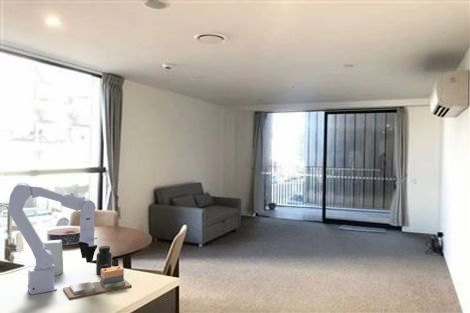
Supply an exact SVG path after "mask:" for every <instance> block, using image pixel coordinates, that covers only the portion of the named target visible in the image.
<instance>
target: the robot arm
mask: <svg viewBox="0 0 470 313" xmlns="http://www.w3.org/2000/svg"><path fill="white" fill-rule="evenodd" d="M30 197H31V199H33V198H38V197H39V198H45V199H49V200H52V201H56V202H59V203H60V204H61V206H62V207H64V208H67V209H70V210H74V211H76V212H77V211H80V217H79V238H78V241H77V242H76V243H77V245H78V247H79V249H80V254H81V258H82V259H85V261H86V263H87V264H89V263H92V262H93V260H94V256H95V253H96V250H97V248H98V245H97V244H95V240H98V237H97V236H95V211H96V208H97V207H96V205H95V202H93V201H92V200H91V199H90V198H86V197H85V196H82V197H81V196H79V195H75V193H74V192H66V193H65V194H62V193H60V192H57V191H53V190H51V189H48V188H45V187H43V186H38V185H34V184H28V183H27V182H20V183H17V184H16V185H15V186H14V188H13V189H12V191H11V193H10V195H9V201H8V208H7V212H8V214H9V215H10V217H11V219H12V221H13V222H14V224H15V225H16V227H17V228H18V231H19V232H20V233H21V236H22V237H23V238H24V240H25V242H26V243H27V245H28V247H29V248H30V250H31V252H32V254H33V256H34V259H35V265H34V268H32V269H28V272H27V273H28V274H27V278H28V280H27V290H28V292H29V294H30V295H36V294H42V293H46V292H52V291H57V290H58V288H57V287H56V284H55V275H54V264H53V262H54V259H53V253H52V251H51V250H50V249H48V248H47V247H46V246H45V245H44V243H43V241H42V239H41V237H40V235H39V234H38V232H37V230H36V229H35V227H34V226H33V224H32V223H31V220H30V219H29V218H28V216H27V214H26V212H25V211H24V206H25V204H26V202H27V201H28V200H29V198H30Z"/></svg>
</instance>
